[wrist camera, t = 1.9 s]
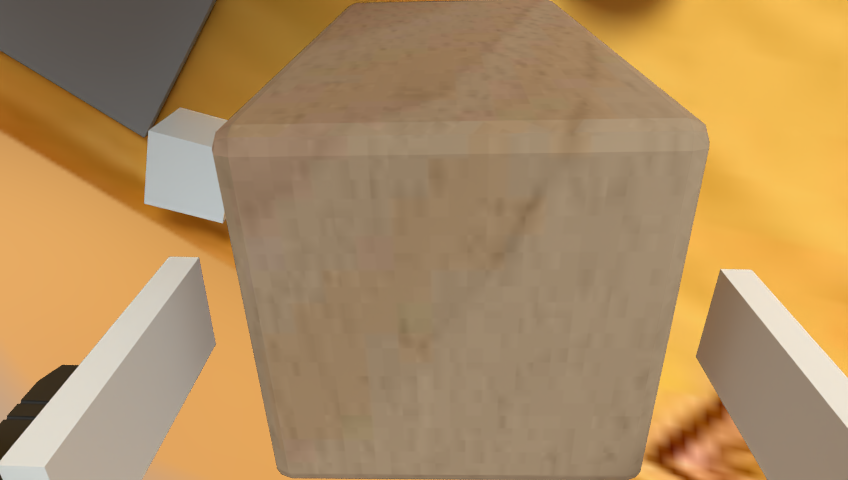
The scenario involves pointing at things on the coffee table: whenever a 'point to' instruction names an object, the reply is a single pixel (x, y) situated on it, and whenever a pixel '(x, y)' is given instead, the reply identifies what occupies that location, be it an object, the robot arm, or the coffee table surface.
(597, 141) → the wooden block
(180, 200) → the pale blue cube
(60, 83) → the slate mat
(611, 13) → the coffee table surface
